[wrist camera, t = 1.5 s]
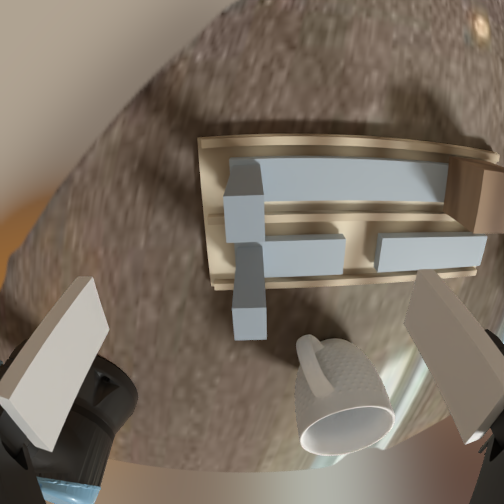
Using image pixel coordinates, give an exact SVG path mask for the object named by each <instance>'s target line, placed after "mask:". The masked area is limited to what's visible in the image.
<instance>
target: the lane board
mask: <svg viewBox="0 0 504 504" xmlns="http://www.w3.org/2000/svg"><path fill="white" fill-rule="evenodd" d="M197 141H198V154H199V167H200V180H201V191H202V202H203V213H204V224H205V234H206V243H207V253H208V262H209V271H210V280H211V286H214V288H215V290H234V279H235V269H236V263H235V248H234V243H226V231H225V217H224V203H223V195H224V192H225V189H226V185H227V182H228V179H229V176H230V166H229V159H230V158H231V157H254V156H352V157H376V158H393V159H407V160H420V161H431V162H441V163H449V156H453V157H461V158H468V159H475V160H482V161H488V162H491V163H494V164H496V161H498V162H499V155H498V154H497V153H496V152H493V151H488V150H482V149H477V148H471V147H465V146H458V145H451V144H444V143H437V142H429V141H420V140H411V139H401V138H390V137H377V136H362V135H342V134H246V135H226V136H210V137H198V138H197ZM443 205H444V202H421V201H368V200H325V201H270V202H264V214H265V236H275V235H310V234H343V235H344V237H345V238H346V246H345V256H344V266H343V274H340V275H318V276H294V277H267V278H264V279H265V289H280V288H304V287H325V286H344V285H361V284H377V283H392V282H406V281H415V279H416V275H417V271H418V270H412V271H396V272H379V273H377V271H376V270H375V268H374V259H375V252H376V245H377V237H378V233H405V232H471V231H469V230H468V229H467V228H465V227H464V226H463V225H461V224H460V223H458V222H457V221H456V220H454V219H453V218H451V217H450V216H449V215H447V214H446V213H444V212H443ZM475 268H476V266H470V267H457V268H443V269H433V270H434V271H435V272H436V273H437V274H438V275H439V276H440V277H441V278H442V279H443V278H455V277H465V276H476V272H477V269H475Z"/></svg>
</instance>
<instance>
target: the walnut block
mask: <svg viewBox="0 0 504 504" xmlns="http://www.w3.org/2000/svg"><path fill="white" fill-rule="evenodd" d="M443 212H444V213H446V214H447V215H449V216H450V217H451V218H453V219H454V220H456V221H457V222H458V223H460V224H461V225H463V226H464V227H465V228H467V229H468V230H469V231H471V232H472V233H473V234H483V233H504V167H501V166H499V165H496V164H494V163H491V162H488V161H482V160H475V159H468V158H461V157H453V156H449V165H448V175H447V183H446V191H445V198H444V205H443Z"/></svg>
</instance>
